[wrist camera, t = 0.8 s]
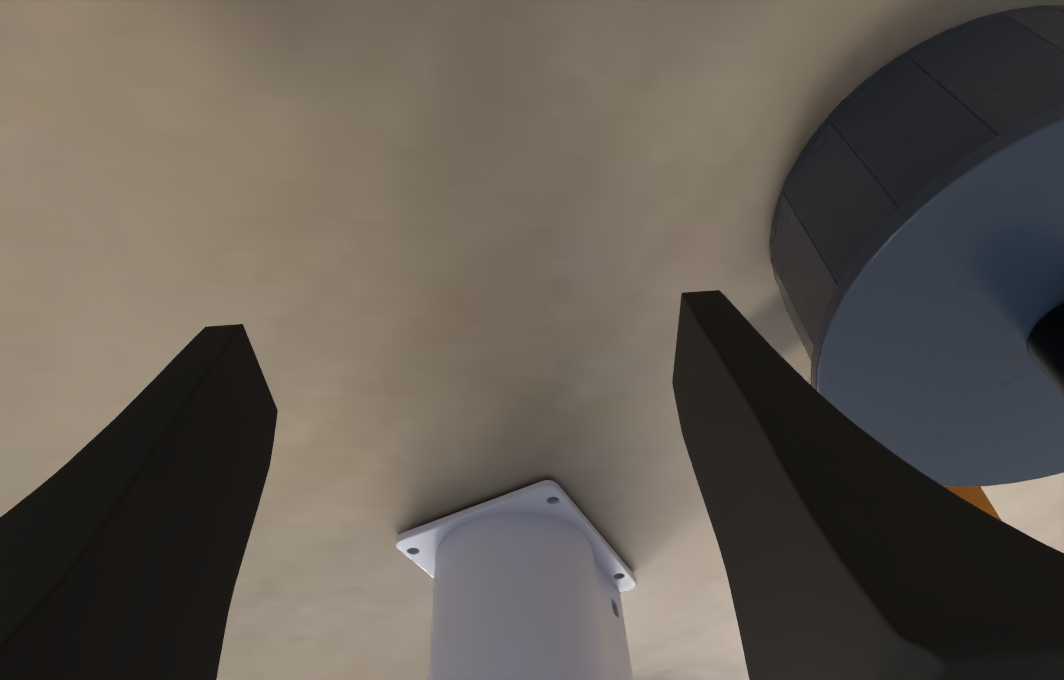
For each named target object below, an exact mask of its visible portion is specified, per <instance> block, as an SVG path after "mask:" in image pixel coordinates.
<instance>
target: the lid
mask: <svg viewBox="0 0 1064 680" xmlns="http://www.w3.org/2000/svg"><path fill="white" fill-rule="evenodd" d="M811 384H812V387H813V388H814V389H815V390H816V391H818V392H819V393H820V394H821V395H822V396H823V397H824V398H825V399H826V400H828V401H829V402H830V403H831V404H832V405H833V406H834V407H836V408H837V409H838V410H839V411H840V412H841V413H842V414H844V415H845V416H846V417H847V418H848V419H850V420H851V421H852V422H853V423H855V424H856V425H857V426H858V427H860V428H861V429H862V430H863V431H865V432H866V433H867V434H869V435H870V436H871V437H873V438H874V439H875V440H877V441H878V442H879V443H881V444H882V445H883V446H885V447H886V448H887V449H889V450H890V451H891V452H893V453H894V454H896V455H897V456H898V457H900V458H901V459H903V460H904V461H906V462H907V463H908V464H910V465H911V466H913V467H914V468H916V469H917V470H919V471H920V472H922V473H923V474H925V475H926V476H928V477H930V478H931V479H933V480H934V481H936V482H937V483H939V484H940V485H942V486H951V487H972V486H991V485H1000V484H1009V483H1016V482H1021V481H1027V480H1032V479H1038V478H1043V477H1047V476H1051V475H1055V474H1059V473H1063V472H1064V103H1063V104H1061V105H1059V106H1056V107H1054V108H1052V109H1050V110H1048V111H1045V112H1043V113H1041V114H1039V115H1036V116H1034V117H1032V118H1030V119H1028V120H1025V121H1024V122H1022V123H1020V124H1018V125H1017V126H1015V127H1013V128H1011V129H1009V130H1008V131H1006V132H1004V133H1002V134H1000V135H999V136H997V137H995V138H993V139H991V140H990V141H988V142H986V143H984V144H983V145H981V146H980V147H978V148H977V149H975V150H974V151H972V152H971V153H969V154H968V155H966V156H965V157H963V158H962V159H961V160H959V161H958V162H956V163H955V164H953V165H952V166H950V167H949V168H947V169H946V170H944V171H943V172H942V173H941V174H940V175H938V176H937V177H936V178H935V179H933V180H932V181H931V182H930V183H928V184H927V185H926V186H925V187H923V188H922V189H921V190H920V191H918V192H917V193H916V194H915V195H913V196H912V197H911V198H910V199H909V200H908V201H907V202H906V203H905V204H904V205H903V206H902V207H901V208H900V209H899V210H898V211H897V212H896V213H895V214H894V215H893V216H891V217H890V218H889V219H888V220H887V221H886V222H885V223H884V224H883V225H882V226H881V227H880V229H879V230H878V231H877V232H876V233H875V235H874V236H873V237H872V238H871V239H870V240H869V242H868V243H867V244H866V245H865V246H864V247H863V249H862V250H861V251H860V252H859V253H858V255H857V256H856V258H855V259H854V260H853V262H852V263H851V265H850V266H849V268H848V269H847V271H846V272H845V274H844V275H843V277H842V278H841V280H840V281H839V283H838V284H837V286H836V288H835V290H834V292H833V294H832V296H831V298H830V300H829V302H828V304H827V306H826V308H825V310H824V313H823V315H822V318H821V321H820V324H819V327H818V329H817V332H816V336H815V341H814V346H813V352H812V357H811Z"/></svg>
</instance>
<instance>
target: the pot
mask: <svg viewBox="0 0 1064 680" xmlns="http://www.w3.org/2000/svg"><path fill="white" fill-rule="evenodd" d="M1063 103H1064V6H1038V7H1031V8H1023V9H1016V10H1010V11H1006V12H1002V13H998V14H994V15H990V16H986V17H983V18H979V19H976V20H974V21H971V22H968V23H966V24H963V25H960V26H958V27H955V28H952V29H950V30H947V31H945V32H943V33H941V34H939V35H937V36H935V37H933V38H931V39H929V40H927V41H925V42H923V43H921V44H919V45H917V46H916V47H914V48H912V49H911V50H909V51H908V52H906V53H904V54H903V55H901V56H900V57H898V58H896V59H895V60H893V61H892V62H890V63H888V64H887V65H886V66H885V67H883V68H882V69H881V70H879V71H878V72H877V73H875V74H874V75H873V76H871V77H870V78H869V79H868V80H866V81H865V82H864V83H862V84H861V85H860V86H859V87H858V88H857V89H856V90H855V91H854V92H853V93H851V94H850V95H849V96H848V97H847V98H846V99H845V100H844V101H843V102H842V103H841V104H840V105H839V106H838V107H837V108H836V109H835V110H834V111H833V112H832V113H831V115H830V116H829V117H828V118H827V119H826V120H825V121H824V123H823V124H822V125H821V126H820V127H819V128H818V130H817V131H816V132H815V134H814V135H813V136H812V138H811V139H810V141H809V142H808V143H807V145H806V146H805V148H804V149H803V150H802V152H801V154H800V155H799V157H798V159H797V161H796V163H795V164H794V166H793V168H792V170H791V171H790V173H789V175H788V177H787V180H786V182H785V185H784V187H783V189H782V192H781V194H780V197H779V200H778V203H777V207H776V211H775V214H774V218H773V224H772V233H771V241H770V242H771V263H772V266H773V271H774V275H775V279H776V282H777V284H778V286H779V289H780V291H781V294H782V298H783V301H784V304H785V307H786V310H787V312H788V314H789V316H790V318H791V320H792V322H793V324H794V326H795V329H796V331H797V333H798V335H799V337H800V339H801V341H802V343H803V345H804V347H805V349H806V351H807V353H808V355H809V357H810V359H811V357H812V352H813V346H814V341H815V336H816V332H817V329H818V327H819V324H820V321H821V318H822V315H823V313H824V310H825V308H826V306H827V304H828V302H829V300H830V298H831V296H832V294H833V292H834V290H835V288H836V286H837V284H838V283H839V281H840V280H841V278H842V277H843V275H844V274H845V272H846V271H847V269H848V268H849V266H850V265H851V263H852V262H853V260H854V259H855V258H856V256H857V255H858V253H859V252H860V251H861V250H862V249H863V247H864V246H865V245H866V244H867V243H868V242H869V240H870V239H871V238H872V237H873V236H874V235H875V233H876V232H877V231H878V230H879V229H880V227H881V226H882V225H883V224H884V223H885V222H886V221H887V220H888V219H889V218H890V217H891V216H893V215H894V214H895V213H896V212H897V211H898V210H899V209H900V208H901V207H902V206H903V205H904V204H905V203H906V202H907V201H908V200H909V199H910V198H911V197H912V196H913V195H915V194H916V193H917V192H918V191H920V190H921V189H922V188H923V187H925V186H926V185H927V184H928V183H930V182H931V181H932V180H933V179H935V178H936V177H937V176H938V175H940V174H941V173H942V172H943V171H944V170H946V169H947V168H949V167H950V166H952V165H953V164H955V163H956V162H958V161H959V160H961V159H962V158H963V157H965V156H966V155H968V154H969V153H971V152H972V151H974V150H975V149H977V148H978V147H980V146H981V145H983V144H984V143H986V142H988V141H990V140H991V139H993V138H995V137H997V136H999V135H1000V134H1002V133H1004V132H1006V131H1008V130H1009V129H1011V128H1013V127H1015V126H1017V125H1018V124H1020V123H1022V122H1024V121H1025V120H1028V119H1030V118H1032V117H1034V116H1036V115H1039V114H1041V113H1043V112H1045V111H1048V110H1050V109H1052V108H1054V107H1056V106H1059V105H1061V104H1063ZM811 386H812V384H811Z"/></svg>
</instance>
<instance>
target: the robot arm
mask: <svg viewBox="0 0 1064 680" xmlns="http://www.w3.org/2000/svg"><path fill="white" fill-rule="evenodd" d="M672 383H673V388H674V394H675V399H676V404H677V410H678V415H679V420H680V425H681V430H682V434H683V438H684V441H685V444H686V447H687V450H688V454H689V457H690V460H691V463H692V466H693V469H694V472H695V475H696V478H697V481H698V484H699V487H700V490H701V493H702V496H703V499H704V502H705V505H706V508H707V511H708V514H709V517H710V520H711V523H712V526H713V529H714V532H715V535H716V538H717V541H718V544H719V548H720V551H721V554H722V558H723V561H724V565H725V568H726V572H727V576H728V580H729V585H730V589H731V594H732V599H733V603H734V608H735V612H736V617H737V621H738V626H739V630H740V635H741V640H742V645H743V650H744V655H745V660H746V665H747V670H748V675H749V679H750V680H1064V553H1062V552H1060V551H1058V550H1055V549H1053V548H1051V547H1049V546H1047V545H1045V544H1043V543H1041V542H1039V541H1037V540H1035V539H1034V538H1032V537H1030V536H1028V535H1026V534H1024V533H1023V532H1021V531H1019V530H1017V529H1015V528H1013V527H1012V526H1010V525H1008V524H1006V523H1004V522H1003V521H1001V520H999V519H997V518H995V517H993V516H992V515H990V514H988V513H986V512H985V511H983V510H981V509H980V508H978V507H976V506H974V505H973V504H971V503H969V502H968V501H966V500H964V499H963V498H961V497H959V496H958V495H956V494H954V493H953V492H951V491H950V490H948V489H947V488H945V487H944V486H942V485H940V484H939V483H937V482H936V481H934V480H933V479H931V478H930V477H928V476H926V475H925V474H923V473H922V472H920V471H919V470H917V469H916V468H914V467H913V466H911V465H910V464H908V463H907V462H906V461H904V460H903V459H901V458H900V457H898V456H897V455H896V454H894V453H893V452H891V451H890V450H889V449H887V448H886V447H885V446H883V445H882V444H881V443H879V442H878V441H877V440H875V439H874V438H873V437H871V436H870V435H869V434H867V433H866V432H865V431H863V430H862V429H861V428H860V427H858V426H857V425H856V424H855V423H853V422H852V421H851V420H850V419H848V418H847V417H846V416H845V415H844V414H842V413H841V412H840V411H839V410H838V409H837V408H836V407H834V406H833V405H832V404H831V403H830V402H829V401H828V400H826V399H825V398H824V397H823V396H822V395H821V394H820V393H819V392H818V391H816V390H815V389H814V388H813V387H812V386H811V385H810V384H809V383H808V382H807V381H806V380H805V379H804V378H803V377H802V376H801V375H800V374H799V373H798V372H797V371H796V370H794V369H793V368H792V367H791V366H790V365H789V364H788V363H787V362H786V361H785V360H784V359H783V358H782V357H781V356H780V355H779V354H778V353H777V352H776V351H775V350H774V349H773V348H772V347H771V345H770V344H769V343H768V342H767V341H766V340H765V339H764V338H763V337H762V336H761V335H760V334H759V333H758V332H757V331H756V330H755V328H754V327H753V326H752V325H751V324H750V323H749V322H748V321H747V320H746V319H745V318H744V316H743V315H742V314H741V313H740V312H739V311H738V310H737V309H736V308H735V306H734V305H733V304H732V303H731V302H730V301H729V300H728V299H727V298H726V297H725V295H723V294H722V293H721V292H720V291H719V290H716V291H702V292H688V293H682V296H681V306H680V315H679V325H678V334H677V343H676V353H675V362H674V372H673V381H672ZM277 411H278V410H277V408H276V405H275V403H274V400H273V398H272V395H271V393H270V391H269V388H268V386H267V383H266V381H265V378H264V376H263V373H262V371H261V368H260V366H259V363H258V361H257V358H256V356H255V353H254V351H253V348H252V346H251V343H250V341H249V338H248V336H247V334H246V331H245V329H244V326H243V324H239V325H224V326H210V327H205V328H204V329H203V330H202V331H201V332H200V333H199V334H198V335H197V336H196V337H195V338H194V339H193V340H192V341H191V342H190V343H189V344H188V345H187V346H186V347H185V348H184V349H183V350H182V351H181V352H180V353H179V354H178V355H177V356H176V357H175V358H174V359H173V360H172V361H171V362H170V363H169V364H168V365H167V366H166V367H165V368H164V369H163V371H162V372H161V373H160V374H159V375H158V376H157V377H156V378H155V379H154V380H153V381H152V382H151V383H150V384H149V385H148V386H147V387H146V388H145V389H144V390H143V391H142V392H141V393H140V394H139V395H138V396H137V397H136V398H135V399H134V400H133V401H132V402H131V403H130V404H129V405H128V406H127V407H126V408H125V409H124V410H123V411H122V412H121V413H120V414H119V415H118V416H117V417H116V418H115V419H114V420H113V421H112V422H111V423H110V424H109V425H108V426H107V427H105V428H104V429H103V430H102V431H101V432H100V433H99V434H98V435H97V436H96V437H95V438H94V439H93V440H91V441H90V442H89V443H88V444H87V445H86V446H85V447H84V448H83V449H82V450H81V451H80V452H79V453H77V454H76V455H75V456H74V457H73V458H72V459H71V460H70V461H69V462H68V463H67V464H66V465H64V466H63V467H62V468H61V469H60V470H59V471H57V472H56V473H55V474H54V475H53V476H52V477H50V478H49V479H48V480H47V481H46V482H44V483H43V484H42V485H41V486H40V487H38V488H37V489H36V490H35V491H33V492H32V493H31V494H30V495H28V496H27V497H26V498H25V499H23V500H22V501H21V502H19V503H18V504H17V505H16V506H14V507H13V508H12V509H11V510H9V511H8V512H7V513H6V514H4V515H3V516H2V517H0V680H216V679H217V672H218V666H219V660H220V655H221V649H222V644H223V638H224V633H225V627H226V622H227V616H228V611H229V607H230V603H231V599H232V595H233V591H234V587H235V583H236V579H237V576H238V573H239V569H240V566H241V563H242V559H243V556H244V552H245V549H246V546H247V542H248V539H249V535H250V532H251V529H252V525H253V522H254V519H255V515H256V512H257V509H258V505H259V502H260V498H261V495H262V491H263V488H264V484H265V481H266V477H267V473H268V470H269V466H270V461H271V454H272V448H273V442H274V434H275V427H276V419H277ZM396 547H397V548H398V549H399V550H400V551H402V552H403V553H404V554H405V555H406V556H408V557H409V558H410V559H411V560H412V561H414V562H415V563H416V564H417V565H419V566H420V567H421V568H422V569H423V570H425V571H426V572H427V573H428V574H429V575H431V576H432V577H433V578H434V587H433V606H432V625H431V644H430V663H429V680H633V677H632V670H631V664H630V657H629V651H628V644H627V637H626V631H625V624H624V618H623V611H622V605H621V598H620V593H622V592H625V591H628V590H631V589H634V588H635V587H636V586H637V580H636V576H635V575H634V574H633V573H632V572H631V570H630V569H629V568H628V567H627V566H626V564H625V563H624V562H623V561H622V560H621V558H620V557H619V556H618V555H617V554H616V553H615V551H614V550H613V549H612V548H611V547H610V545H609V544H608V543H607V542H606V541H605V539H604V538H603V537H602V536H601V535H600V534H599V532H598V531H597V530H596V529H595V528H594V526H593V525H592V524H591V523H590V522H589V521H588V519H587V518H586V517H585V516H584V515H583V513H582V512H581V511H580V510H579V509H578V507H577V506H576V505H575V504H574V503H573V502H572V500H571V499H570V498H569V497H568V496H567V494H566V493H565V492H564V491H563V490H562V488H561V487H560V486H559V485H558V484H557V483H556V482H554V481H551V480H544V481H541V482H538V483H535V484H532V485H530V486H527V487H524V488H522V489H519V490H516V491H514V492H511V493H508V494H505V495H503V496H500V497H497V498H495V499H492V500H489V501H487V502H484V503H481V504H478V505H476V506H473V507H470V508H468V509H465V510H462V511H460V512H457V513H454V514H451V515H449V516H446V517H443V518H441V519H438V520H435V521H433V522H430V523H427V524H424V525H422V526H419V527H416V528H414V529H411V530H408V531H406V532H403V533H401V534H399V535H398V536H397V537H396Z"/></svg>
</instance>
